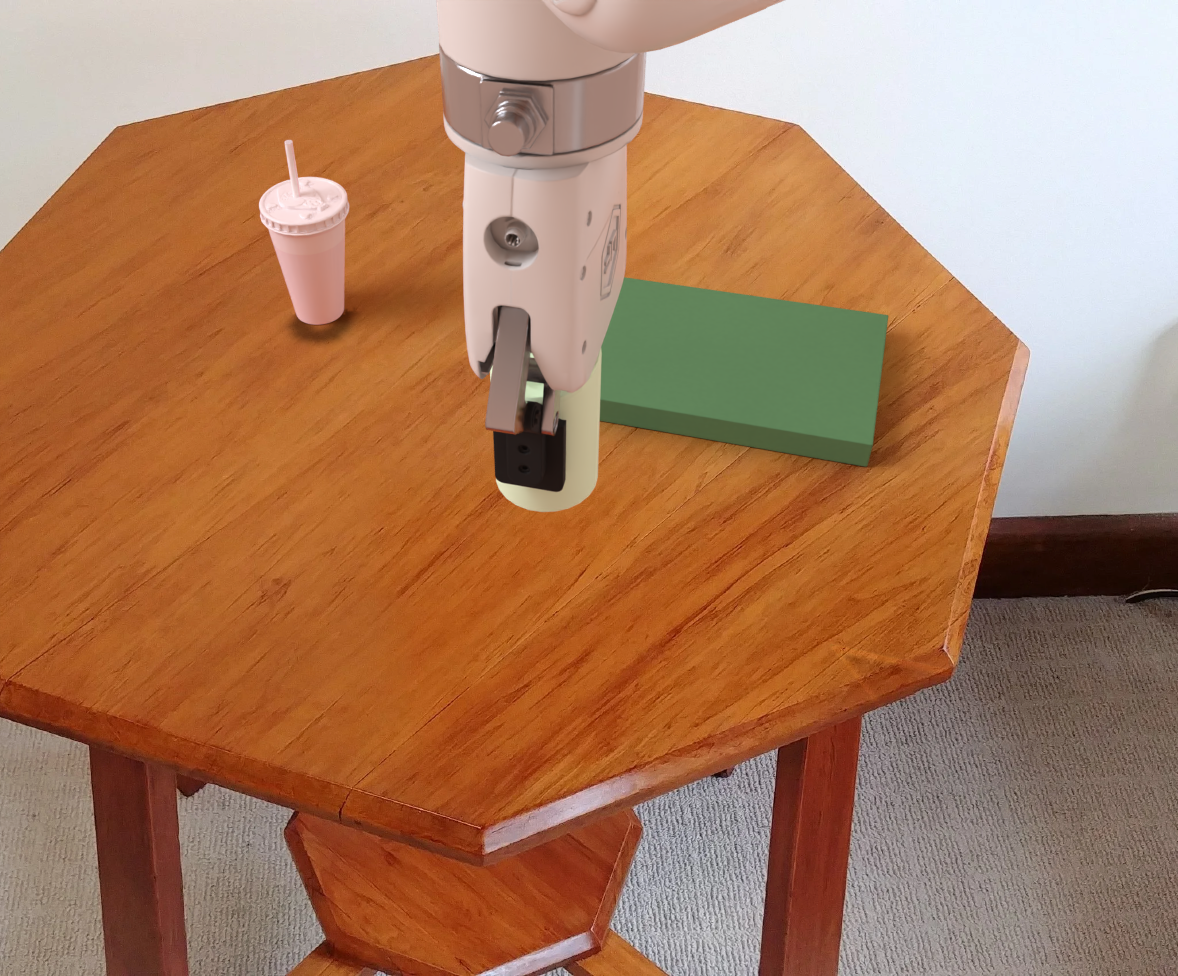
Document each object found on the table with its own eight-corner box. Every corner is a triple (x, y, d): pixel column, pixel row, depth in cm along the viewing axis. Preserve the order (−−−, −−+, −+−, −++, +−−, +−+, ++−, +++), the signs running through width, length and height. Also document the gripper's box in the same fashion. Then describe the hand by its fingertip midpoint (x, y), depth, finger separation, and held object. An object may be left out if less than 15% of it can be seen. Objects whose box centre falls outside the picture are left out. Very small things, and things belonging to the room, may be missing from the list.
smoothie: (315, 275, 98) (290, 112, 88) (379, 302, 95) (360, 136, 85) (260, 317, 94) (228, 152, 84) (325, 346, 91) (298, 178, 81)
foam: (883, 336, 89) (888, 314, 88) (867, 467, 80) (873, 444, 78) (610, 296, 94) (611, 274, 93) (565, 415, 85) (565, 393, 83)
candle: (520, 527, 59) (516, 398, 53) (479, 459, 62) (471, 331, 56) (615, 494, 60) (621, 364, 54) (570, 429, 63) (571, 300, 57)
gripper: (592, 216, 39) (582, 592, 52) (681, -5, 51) (655, 348, 63) (370, 190, 41) (413, 559, 54) (505, -17, 52) (513, 328, 65)
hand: (544, 442), depth 59 cm, fingers closed on candle, 4 cm apart
